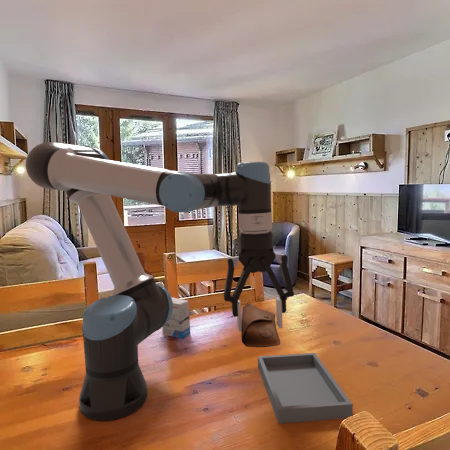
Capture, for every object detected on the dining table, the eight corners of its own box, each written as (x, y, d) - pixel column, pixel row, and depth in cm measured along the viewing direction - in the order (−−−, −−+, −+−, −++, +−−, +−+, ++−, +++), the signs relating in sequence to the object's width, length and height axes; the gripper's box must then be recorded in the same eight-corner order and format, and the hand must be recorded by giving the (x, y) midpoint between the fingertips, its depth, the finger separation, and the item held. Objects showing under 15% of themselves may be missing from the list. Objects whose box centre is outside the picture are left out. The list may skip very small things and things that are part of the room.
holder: (278, 423, 74) (278, 409, 74) (257, 367, 97) (257, 356, 97) (352, 417, 76) (352, 404, 75) (314, 363, 98) (315, 352, 98)
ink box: (191, 334, 119) (190, 300, 117) (181, 339, 115) (180, 304, 113) (171, 328, 123) (170, 296, 122) (161, 334, 119) (160, 300, 118)
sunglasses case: (283, 344, 73) (265, 317, 73) (254, 361, 74) (236, 335, 74) (275, 313, 91) (261, 292, 91) (252, 327, 92) (238, 306, 92)
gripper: (208, 236, 76) (214, 338, 78) (307, 230, 77) (309, 330, 80) (208, 232, 83) (213, 325, 86) (297, 226, 85) (300, 318, 87)
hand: (259, 327), depth 83 cm, fingers closed on sunglasses case, 9 cm apart
